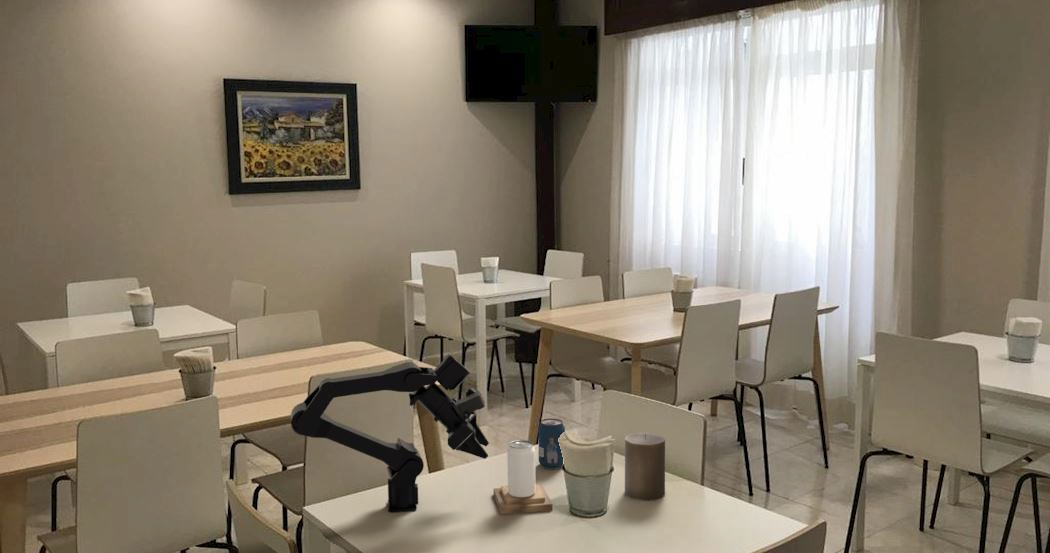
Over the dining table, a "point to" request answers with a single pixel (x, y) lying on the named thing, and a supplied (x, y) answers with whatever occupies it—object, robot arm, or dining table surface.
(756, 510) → the dining table surface
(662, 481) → the pillar candle
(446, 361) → the robot arm
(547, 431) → the soda can
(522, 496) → the can
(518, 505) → the plinth
